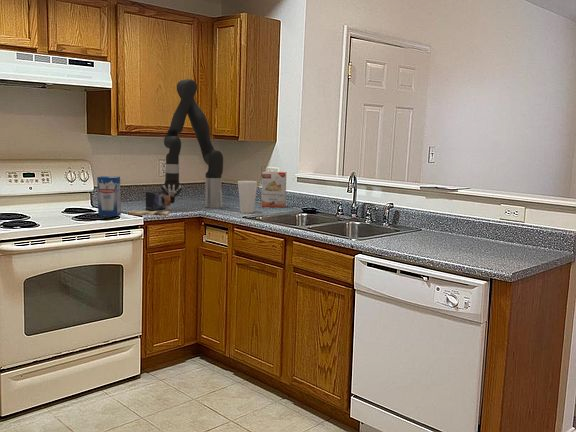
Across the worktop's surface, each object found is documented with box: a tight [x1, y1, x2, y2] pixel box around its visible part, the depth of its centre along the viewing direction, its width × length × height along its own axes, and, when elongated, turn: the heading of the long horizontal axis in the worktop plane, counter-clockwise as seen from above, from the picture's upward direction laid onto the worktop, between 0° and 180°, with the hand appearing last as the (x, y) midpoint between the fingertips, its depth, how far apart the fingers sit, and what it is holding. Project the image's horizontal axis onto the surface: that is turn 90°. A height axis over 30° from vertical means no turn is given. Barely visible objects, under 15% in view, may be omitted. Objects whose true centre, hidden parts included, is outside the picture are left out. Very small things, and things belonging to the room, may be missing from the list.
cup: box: [237, 180, 258, 214], centre depth 334 cm, size 11×10×17 cm
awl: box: [164, 195, 171, 212], centre depth 329 cm, size 3×3×9 cm
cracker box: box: [261, 170, 287, 208], centre depth 359 cm, size 14×6×21 cm, turn 83°
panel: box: [128, 210, 171, 216], centre depth 322 cm, size 20×9×1 cm, turn 90°
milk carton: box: [96, 175, 122, 217], centre depth 312 cm, size 10×6×20 cm, turn 89°
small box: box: [145, 189, 166, 211], centre depth 338 cm, size 11×6×10 cm, turn 143°
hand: (171, 203), depth 338 cm, fingers closed
